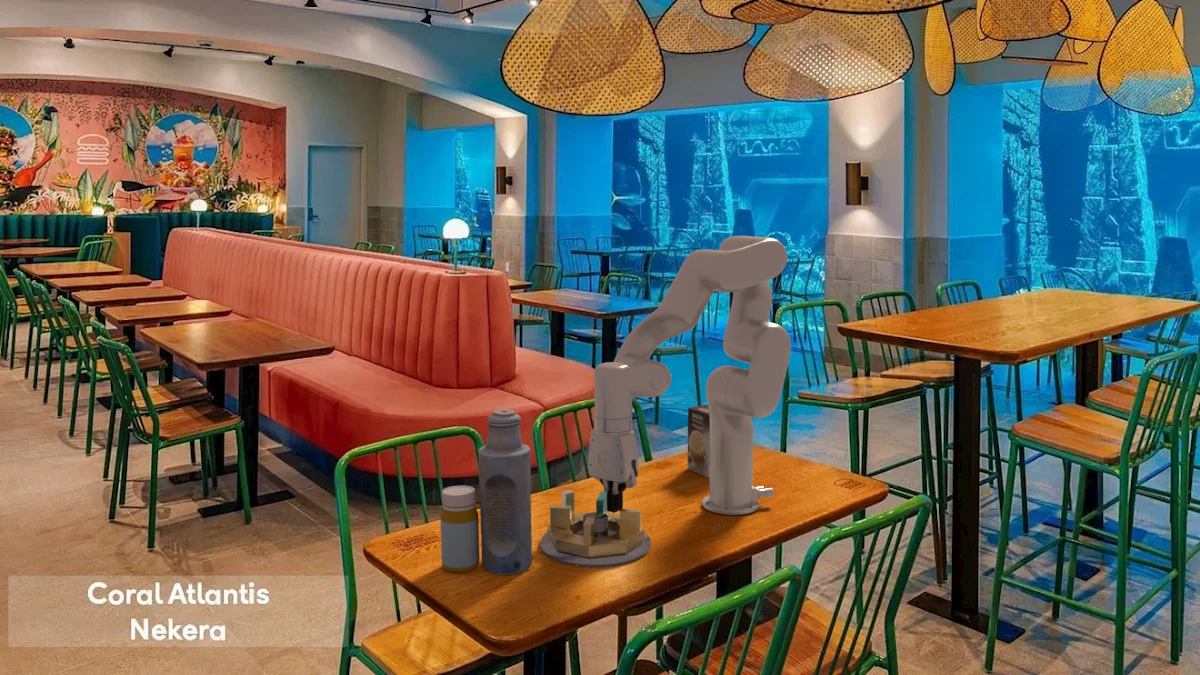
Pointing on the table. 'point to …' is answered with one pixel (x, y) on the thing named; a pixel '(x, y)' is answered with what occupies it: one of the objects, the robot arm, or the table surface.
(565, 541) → the wooden castle nut
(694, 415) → the coffee box
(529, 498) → the bottle
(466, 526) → the bottle
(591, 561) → the hub
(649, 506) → the table surface
